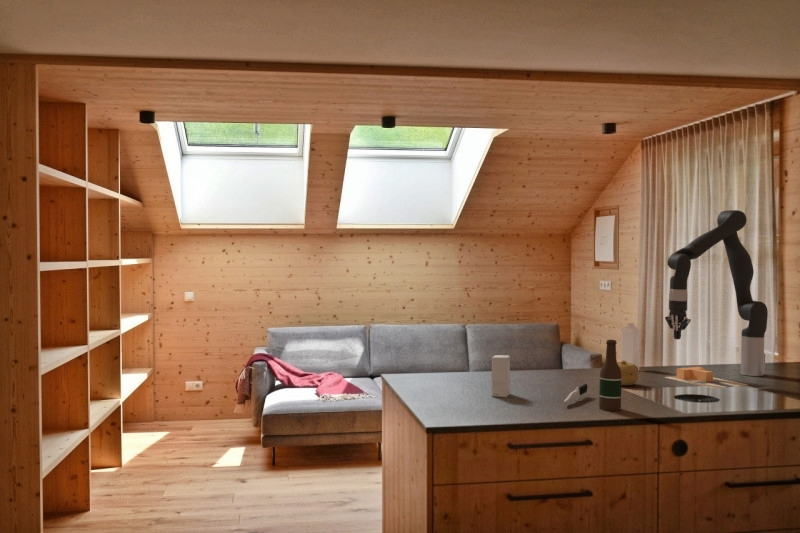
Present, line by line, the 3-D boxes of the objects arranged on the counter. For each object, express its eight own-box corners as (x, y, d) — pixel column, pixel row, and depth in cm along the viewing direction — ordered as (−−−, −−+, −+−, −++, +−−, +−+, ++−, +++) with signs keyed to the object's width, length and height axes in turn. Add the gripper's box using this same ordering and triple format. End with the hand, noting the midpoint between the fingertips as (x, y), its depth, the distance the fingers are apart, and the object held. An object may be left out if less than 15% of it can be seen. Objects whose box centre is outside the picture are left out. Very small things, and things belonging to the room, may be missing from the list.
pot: (626, 381, 304) (627, 357, 304) (644, 386, 293) (644, 362, 293) (602, 382, 301) (603, 358, 301) (619, 388, 290) (619, 363, 289)
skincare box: (506, 397, 268) (507, 357, 267) (490, 396, 270) (491, 356, 269) (510, 393, 276) (511, 354, 275) (494, 392, 278) (495, 353, 277)
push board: (698, 376, 318) (698, 374, 318) (748, 387, 295) (749, 384, 295) (664, 379, 310) (664, 377, 310) (713, 390, 286) (713, 388, 286)
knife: (565, 408, 251) (566, 394, 251) (561, 407, 252) (561, 393, 252) (588, 396, 272) (588, 383, 272) (583, 395, 273) (583, 382, 273)
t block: (697, 376, 314) (697, 366, 314) (719, 380, 303) (720, 371, 303) (676, 377, 309) (676, 368, 309) (698, 382, 298) (698, 373, 298)
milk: (639, 371, 332) (640, 323, 331) (632, 372, 328) (633, 323, 327) (627, 369, 336) (628, 321, 336) (620, 370, 332) (621, 322, 331)
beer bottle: (595, 406, 255) (596, 338, 254) (616, 406, 255) (618, 338, 255) (603, 411, 247) (604, 341, 246) (625, 411, 248) (626, 341, 247)
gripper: (696, 300, 312) (695, 340, 312) (673, 298, 324) (672, 337, 324) (683, 300, 308) (682, 341, 309) (660, 298, 321) (659, 337, 321)
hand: (677, 339), depth 316 cm, fingers closed
